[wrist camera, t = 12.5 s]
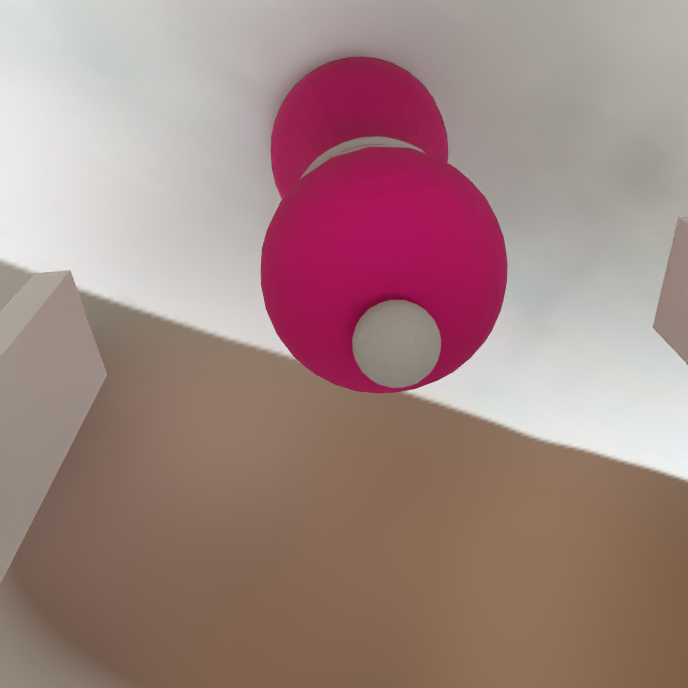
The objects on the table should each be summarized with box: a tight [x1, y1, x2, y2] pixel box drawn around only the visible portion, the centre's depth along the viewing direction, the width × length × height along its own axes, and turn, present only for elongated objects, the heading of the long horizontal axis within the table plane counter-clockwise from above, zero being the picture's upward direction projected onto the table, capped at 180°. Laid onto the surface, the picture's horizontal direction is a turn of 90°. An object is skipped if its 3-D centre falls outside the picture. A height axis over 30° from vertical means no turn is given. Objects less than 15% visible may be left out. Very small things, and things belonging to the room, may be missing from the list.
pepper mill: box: [261, 57, 507, 393], centre depth 20 cm, size 7×7×20 cm
